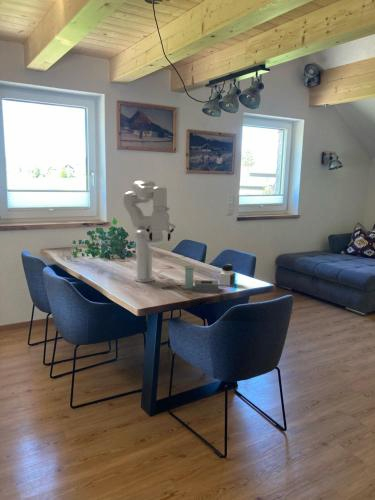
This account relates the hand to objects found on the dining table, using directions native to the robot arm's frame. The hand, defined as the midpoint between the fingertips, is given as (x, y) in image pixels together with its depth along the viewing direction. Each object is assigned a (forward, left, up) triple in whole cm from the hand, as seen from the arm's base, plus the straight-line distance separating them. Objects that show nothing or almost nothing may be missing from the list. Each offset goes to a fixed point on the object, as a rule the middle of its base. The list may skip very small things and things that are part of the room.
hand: (159, 240), depth 220 cm
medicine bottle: (-16, +39, -28) cm, 51 cm away
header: (-2, +27, -28) cm, 39 cm away
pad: (-6, +17, -28) cm, 33 cm away
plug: (-6, +17, -28) cm, 33 cm away
